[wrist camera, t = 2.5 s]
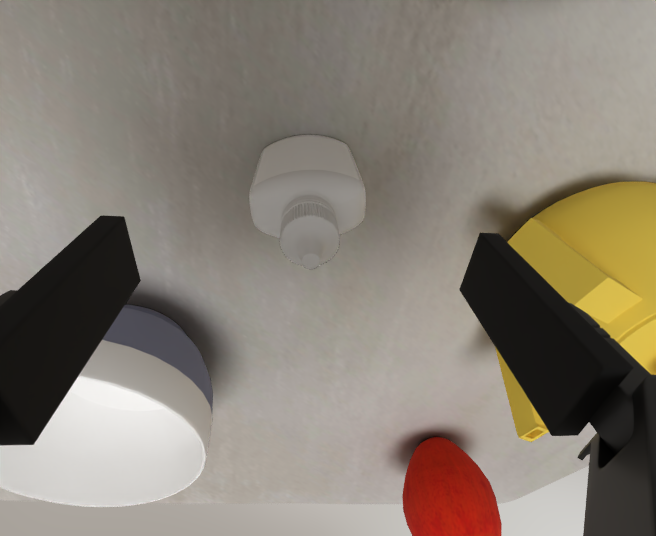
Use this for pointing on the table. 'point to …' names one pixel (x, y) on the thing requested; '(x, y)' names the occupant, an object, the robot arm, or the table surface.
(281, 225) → the eye dropper bottle
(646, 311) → the teapot
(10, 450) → the bowl
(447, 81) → the table surface
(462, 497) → the apple
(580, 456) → the robot arm
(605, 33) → the table surface
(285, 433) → the table surface
